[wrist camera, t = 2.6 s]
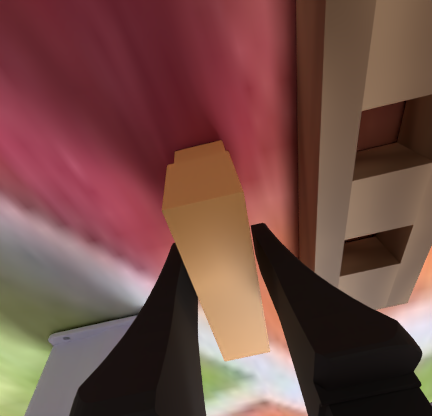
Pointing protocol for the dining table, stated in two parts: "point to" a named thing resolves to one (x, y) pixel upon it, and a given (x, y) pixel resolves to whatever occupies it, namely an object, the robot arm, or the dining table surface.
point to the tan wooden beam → (216, 246)
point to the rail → (371, 158)
